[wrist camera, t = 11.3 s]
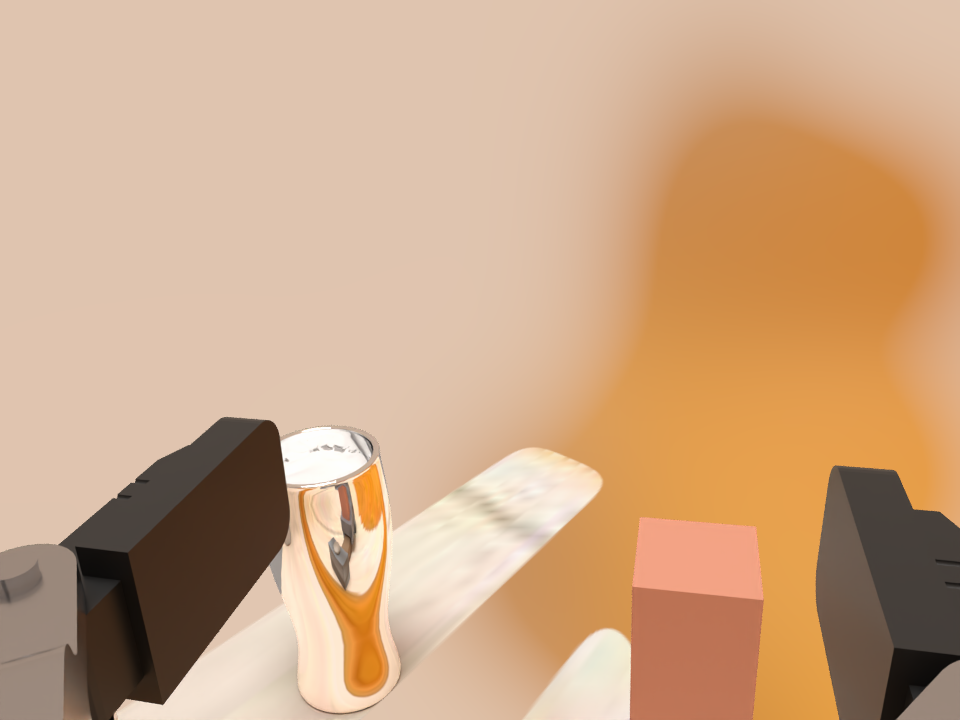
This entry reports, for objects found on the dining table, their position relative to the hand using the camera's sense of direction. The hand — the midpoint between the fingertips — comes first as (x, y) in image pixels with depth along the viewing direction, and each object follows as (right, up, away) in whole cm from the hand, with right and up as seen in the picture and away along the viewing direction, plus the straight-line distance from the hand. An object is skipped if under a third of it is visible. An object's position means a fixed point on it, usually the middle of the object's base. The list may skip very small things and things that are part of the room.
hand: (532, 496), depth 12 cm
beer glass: (-8, -17, +38) cm, 42 cm away
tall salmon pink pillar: (+7, -21, +23) cm, 32 cm away
